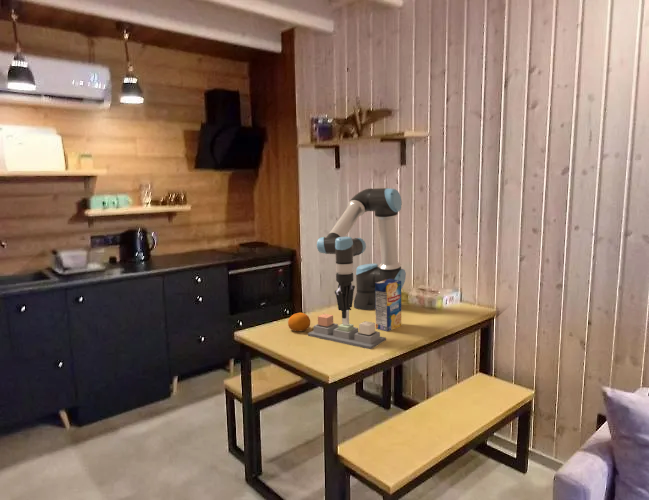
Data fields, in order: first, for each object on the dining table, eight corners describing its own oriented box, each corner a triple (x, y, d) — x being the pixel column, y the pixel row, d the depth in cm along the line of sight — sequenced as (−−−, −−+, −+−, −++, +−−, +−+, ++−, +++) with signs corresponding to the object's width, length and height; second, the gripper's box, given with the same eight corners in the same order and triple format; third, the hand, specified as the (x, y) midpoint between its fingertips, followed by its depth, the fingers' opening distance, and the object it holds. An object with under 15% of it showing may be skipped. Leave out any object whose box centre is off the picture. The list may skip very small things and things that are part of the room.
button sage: (344, 331, 221) (344, 322, 220) (353, 333, 218) (353, 324, 217) (338, 334, 217) (337, 325, 216) (347, 336, 214) (347, 327, 213)
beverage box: (375, 328, 230) (375, 282, 226) (389, 323, 237) (389, 278, 234) (387, 331, 225) (386, 285, 221) (401, 325, 232) (401, 280, 229)
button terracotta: (324, 322, 227) (324, 313, 226) (333, 323, 224) (333, 315, 223) (318, 324, 223) (317, 316, 222) (327, 326, 220) (326, 318, 219)
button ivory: (365, 329, 214) (365, 321, 213) (375, 331, 211) (375, 322, 211) (359, 333, 210) (359, 324, 209) (369, 335, 207) (369, 326, 207)
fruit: (286, 327, 235) (286, 311, 233) (308, 325, 237) (307, 309, 235) (289, 334, 225) (289, 317, 223) (312, 332, 227) (311, 315, 225)
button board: (324, 327, 233) (324, 319, 232) (385, 340, 213) (385, 331, 213) (307, 335, 222) (307, 326, 221) (370, 349, 203) (370, 339, 202)
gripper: (345, 269, 220) (346, 319, 224) (328, 274, 210) (330, 327, 214) (359, 270, 216) (360, 322, 220) (343, 276, 206) (344, 330, 209)
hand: (345, 324), depth 217 cm, fingers closed
